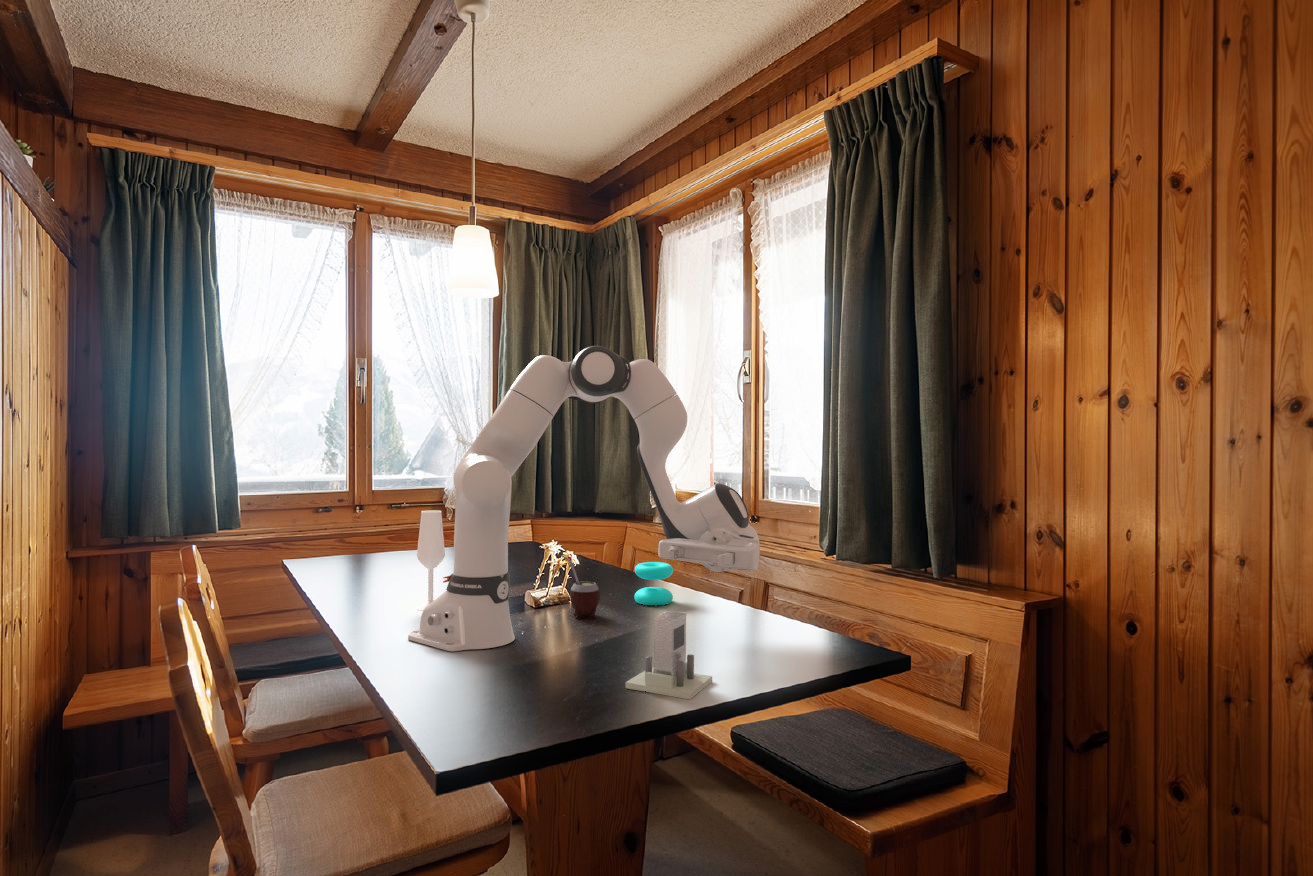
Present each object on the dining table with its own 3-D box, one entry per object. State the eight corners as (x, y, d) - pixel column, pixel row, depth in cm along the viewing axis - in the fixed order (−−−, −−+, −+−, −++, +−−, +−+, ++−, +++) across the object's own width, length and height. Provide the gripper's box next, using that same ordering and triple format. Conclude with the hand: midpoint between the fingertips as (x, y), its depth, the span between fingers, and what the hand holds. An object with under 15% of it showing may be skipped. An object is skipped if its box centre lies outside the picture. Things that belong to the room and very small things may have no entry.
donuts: (675, 561, 201) (670, 568, 191) (675, 599, 201) (669, 608, 191) (638, 560, 202) (631, 566, 192) (638, 597, 202) (630, 606, 192)
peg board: (625, 688, 130) (625, 659, 130) (651, 672, 139) (651, 644, 139) (689, 699, 125) (690, 669, 125) (712, 681, 134) (712, 653, 134)
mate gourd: (605, 615, 182) (605, 553, 181) (585, 622, 175) (585, 557, 175) (580, 611, 186) (581, 550, 185) (560, 618, 179) (560, 554, 179)
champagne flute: (419, 605, 191) (420, 509, 191) (446, 604, 191) (447, 509, 191) (413, 611, 184) (414, 512, 184) (442, 610, 185) (443, 512, 185)
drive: (653, 682, 130) (653, 618, 130) (667, 672, 135) (668, 611, 135) (671, 685, 128) (672, 620, 128) (685, 675, 134) (686, 613, 134)
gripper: (674, 529, 161) (645, 535, 149) (767, 539, 152) (743, 546, 140) (673, 559, 161) (643, 567, 149) (765, 570, 152) (742, 580, 140)
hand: (693, 557), depth 144 cm, fingers open, 8 cm apart
